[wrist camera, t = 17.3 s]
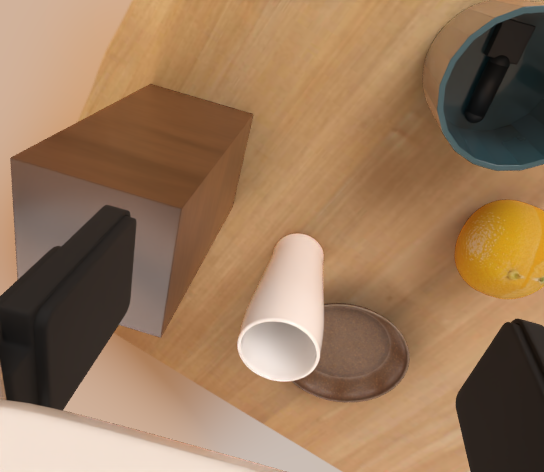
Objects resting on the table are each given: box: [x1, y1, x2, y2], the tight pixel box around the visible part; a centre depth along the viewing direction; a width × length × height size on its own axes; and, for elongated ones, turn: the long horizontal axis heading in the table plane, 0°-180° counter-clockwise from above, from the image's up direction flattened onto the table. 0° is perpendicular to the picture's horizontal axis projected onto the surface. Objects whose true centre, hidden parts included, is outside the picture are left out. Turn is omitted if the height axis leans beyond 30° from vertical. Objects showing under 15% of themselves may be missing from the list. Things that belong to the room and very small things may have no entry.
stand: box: [11, 84, 253, 337], centre depth 37 cm, size 10×10×20 cm
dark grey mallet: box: [465, 19, 535, 123], centre depth 36 cm, size 8×2×2 cm, turn 166°
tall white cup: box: [237, 233, 324, 382], centre depth 43 cm, size 7×7×15 cm
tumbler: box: [422, 0, 544, 171], centre depth 34 cm, size 10×10×9 cm
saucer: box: [292, 303, 410, 402], centre depth 53 cm, size 15×15×3 cm
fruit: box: [455, 200, 544, 299], centre depth 41 cm, size 9×8×8 cm
